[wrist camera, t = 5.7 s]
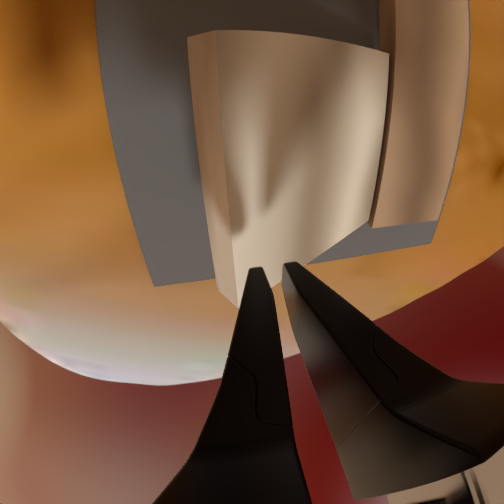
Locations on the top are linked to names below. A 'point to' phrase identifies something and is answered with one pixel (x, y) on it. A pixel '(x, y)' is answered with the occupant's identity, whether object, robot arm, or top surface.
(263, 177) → the beige flat square block
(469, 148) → the top surface
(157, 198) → the underlay
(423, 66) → the light brown plank
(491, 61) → the top surface
